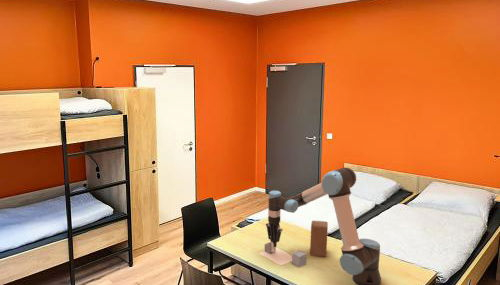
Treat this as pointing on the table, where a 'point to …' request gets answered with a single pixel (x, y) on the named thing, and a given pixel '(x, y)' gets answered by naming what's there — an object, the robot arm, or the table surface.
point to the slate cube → (299, 258)
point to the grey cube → (268, 248)
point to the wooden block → (318, 238)
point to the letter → (278, 256)
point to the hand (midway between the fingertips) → (273, 251)
